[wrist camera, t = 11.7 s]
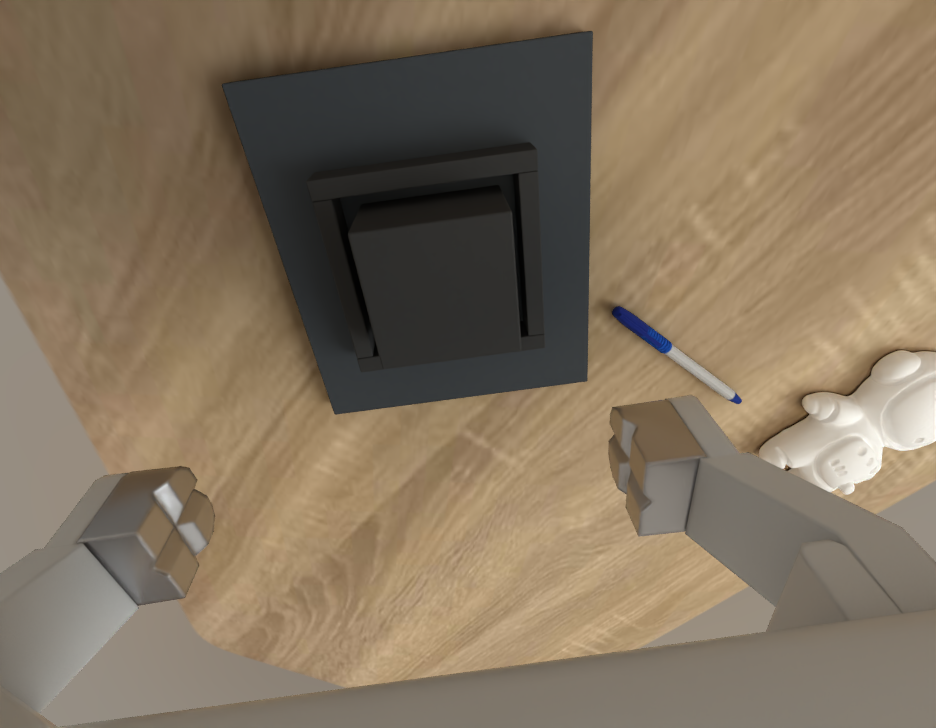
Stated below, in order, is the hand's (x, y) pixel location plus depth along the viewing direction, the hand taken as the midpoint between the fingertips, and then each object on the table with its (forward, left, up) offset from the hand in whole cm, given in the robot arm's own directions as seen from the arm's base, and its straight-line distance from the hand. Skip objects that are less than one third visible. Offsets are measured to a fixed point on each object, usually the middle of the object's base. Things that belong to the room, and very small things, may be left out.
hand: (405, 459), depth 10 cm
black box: (+1, -2, -15) cm, 15 cm away
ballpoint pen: (+13, -9, -16) cm, 22 cm away
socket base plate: (+1, -2, -16) cm, 16 cm away
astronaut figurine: (+25, -16, -16) cm, 33 cm away
